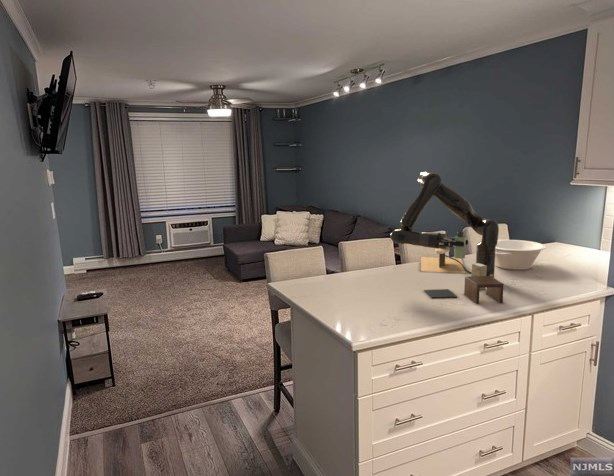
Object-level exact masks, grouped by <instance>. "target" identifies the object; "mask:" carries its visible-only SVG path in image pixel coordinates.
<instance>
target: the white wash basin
mask: <svg viewBox="0 0 614 476" xmlns="http://www.w3.org/2000/svg"><path fill="white" fill-rule="evenodd" d="M545 249H547V246H546V245H545V244H543V243H541V242H537V241H531V240H523V239H522V240H521V239H498V242H497V245H496V248H495V267H498V268H500V269H503V270H508V271H509V270H510V271H525V270H529V269H531V268H532V266H533V265H534V263H535V261H536V259H537V258H538V257H539V255H540V253H541V251H543V250H545Z"/></svg>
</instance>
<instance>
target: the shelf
mask: <svg viewBox="0 0 614 476" xmlns="http://www.w3.org/2000/svg"><path fill="white" fill-rule="evenodd" d="M504 285H505V284H504V282H501V281H499V280H498V279H496V278H495V277H494V278H493V277H491V276H471V275H469V276H464V290H463V291H464V293H463V295H464V296H465V297H467V298H468V299H469V300H470V301H472V302H473V303H474V304H476V305H479V304H480V291H481V290H480V288H485V289H486V295H487V296H488V297H490V298H491V299H493V300H495V301H496V302H498V303H499V304H504V303H503V301H504Z"/></svg>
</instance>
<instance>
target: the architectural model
mask: <svg viewBox="0 0 614 476" xmlns="http://www.w3.org/2000/svg"><path fill="white" fill-rule="evenodd" d="M438 233H441V230H439V231H438ZM441 234H442V237H443V238H445V237H447V231H444V233H441ZM450 250H451V247H445V246H441V247H440V248H435V254H436V255H438V257H429V256H427V257H426V256H421V257H420V272H428V273H429V272H431V273H456V274H467V271H465V269H466V268H465V269H464V268H463V266H464V267H465V265H464V262H463V259H458V258H454V257H452V258H454V259H456V260H458V261H460V262H461V263H462V264H463V266H462V265H461V264H460V263H459V262H458V261H456V260H454V259H452V258H449V257H446V256H445V255H446V254H447V253H450Z"/></svg>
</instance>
